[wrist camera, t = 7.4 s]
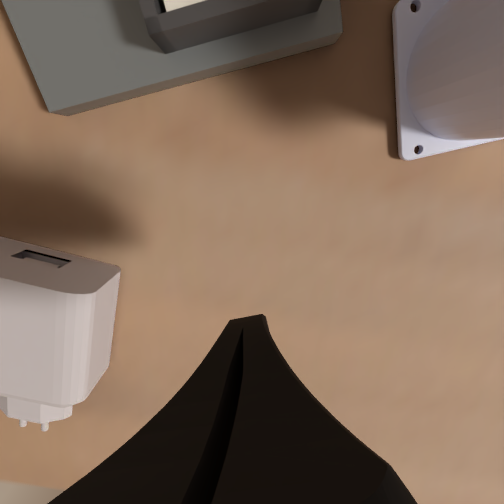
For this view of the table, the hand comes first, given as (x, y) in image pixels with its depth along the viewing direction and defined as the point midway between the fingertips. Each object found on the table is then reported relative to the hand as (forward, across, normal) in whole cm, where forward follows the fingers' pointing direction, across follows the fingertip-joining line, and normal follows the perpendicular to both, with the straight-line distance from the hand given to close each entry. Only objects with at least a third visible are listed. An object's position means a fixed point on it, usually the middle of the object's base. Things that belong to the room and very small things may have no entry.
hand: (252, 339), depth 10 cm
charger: (+10, +17, +3) cm, 20 cm away
